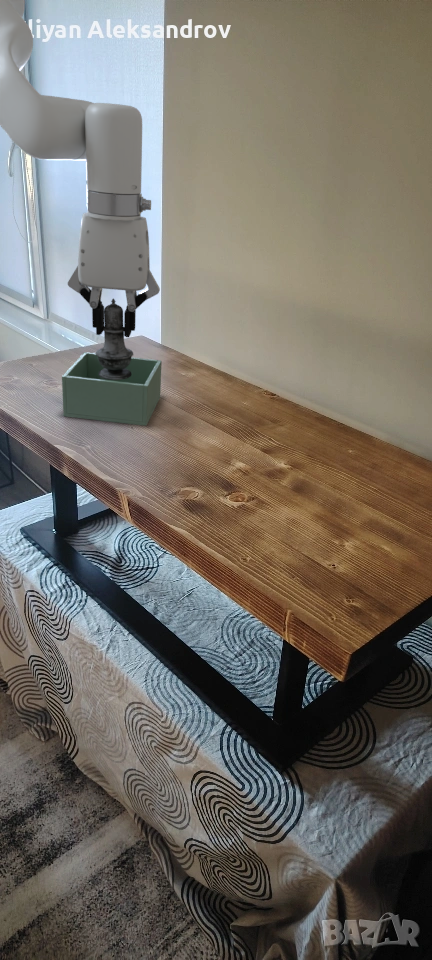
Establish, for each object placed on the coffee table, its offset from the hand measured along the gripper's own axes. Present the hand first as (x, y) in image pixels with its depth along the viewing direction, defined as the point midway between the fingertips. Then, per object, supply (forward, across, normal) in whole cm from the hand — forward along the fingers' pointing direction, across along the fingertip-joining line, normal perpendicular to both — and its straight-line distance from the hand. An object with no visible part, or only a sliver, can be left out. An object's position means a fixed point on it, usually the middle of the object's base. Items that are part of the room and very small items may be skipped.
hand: (114, 332), depth 97 cm
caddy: (+12, 0, 0) cm, 12 cm away
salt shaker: (+7, 0, 0) cm, 7 cm away
